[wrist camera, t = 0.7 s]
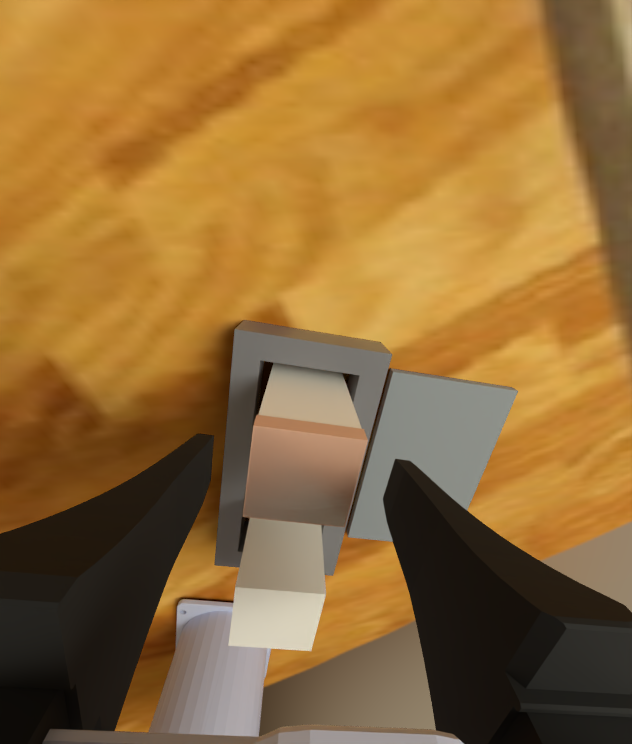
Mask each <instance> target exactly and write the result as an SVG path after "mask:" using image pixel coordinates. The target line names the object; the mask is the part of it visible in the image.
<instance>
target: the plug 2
mask: <svg viewBox="0 0 632 744" xmlns="http://www.w3.org/2000/svg"><path fill="white" fill-rule="evenodd" d="M325 596H326V588H325V574H324V559H323V544H322V530H321V525H316V524H307V523H297V522H287V521H277V520H268V519H258V518H250V520H249V525H248V529H247V534H246V539H245V544H244V548H243V553H242V558H241V563H240V568H239V572H238V577H237V582H236V587H235V595H234V603H233V611H232V619H231V628H230V636H229V644H228V646H240V647H256V648H272V649H288V650H304V651H311V649H312V645H313V642H314V638H315V634H316V630H317V626H318V623H319V619H320V615H321V611H322V607H323V604H324V600H325Z"/></svg>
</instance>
